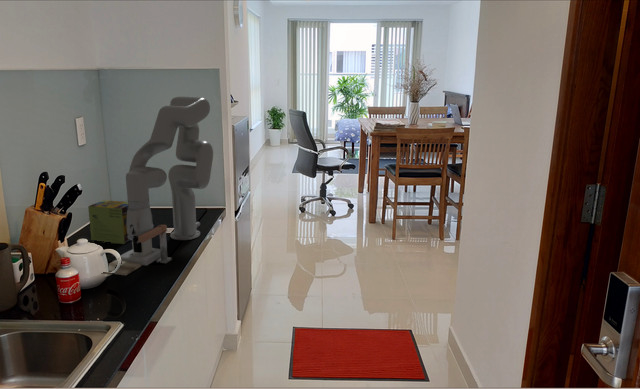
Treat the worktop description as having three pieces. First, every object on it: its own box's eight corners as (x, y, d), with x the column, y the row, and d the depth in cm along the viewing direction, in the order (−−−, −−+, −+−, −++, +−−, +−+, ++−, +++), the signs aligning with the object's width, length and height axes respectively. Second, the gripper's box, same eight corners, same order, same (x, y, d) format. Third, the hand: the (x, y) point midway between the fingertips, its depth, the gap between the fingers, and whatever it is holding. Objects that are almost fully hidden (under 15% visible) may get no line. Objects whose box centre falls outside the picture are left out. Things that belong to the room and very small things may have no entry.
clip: (137, 241, 166) (136, 236, 166) (161, 229, 180) (160, 224, 179) (145, 242, 165) (144, 237, 165) (168, 230, 179) (168, 224, 179)
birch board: (115, 262, 178) (115, 259, 178) (141, 266, 176) (141, 263, 175) (99, 271, 170) (98, 269, 170) (125, 275, 167) (125, 272, 167)
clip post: (162, 258, 183) (160, 229, 180) (171, 259, 182) (170, 230, 179) (156, 262, 180) (154, 232, 177) (165, 263, 179) (164, 233, 176)
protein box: (125, 244, 197) (122, 208, 193) (90, 241, 199) (87, 206, 196) (138, 236, 207) (135, 201, 203) (105, 233, 209) (102, 199, 206)
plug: (141, 253, 186) (139, 226, 184) (152, 254, 185) (150, 227, 182) (133, 257, 182) (131, 230, 179) (144, 259, 181) (142, 232, 178)
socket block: (138, 250, 190) (138, 246, 190) (165, 254, 187) (164, 249, 187) (118, 261, 179) (118, 256, 179) (146, 265, 176) (146, 260, 176)
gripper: (143, 197, 187) (147, 241, 192) (115, 209, 171) (119, 256, 176) (160, 199, 185) (163, 243, 190) (133, 211, 169) (137, 258, 174)
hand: (142, 249), depth 183 cm, fingers closed on plug, 5 cm apart
